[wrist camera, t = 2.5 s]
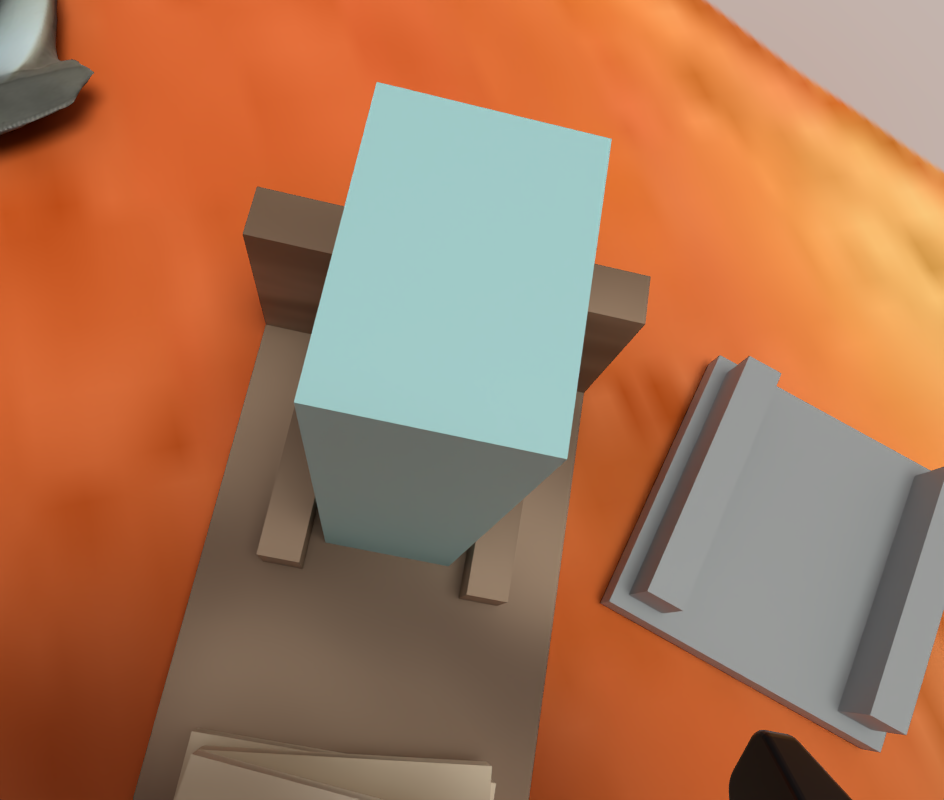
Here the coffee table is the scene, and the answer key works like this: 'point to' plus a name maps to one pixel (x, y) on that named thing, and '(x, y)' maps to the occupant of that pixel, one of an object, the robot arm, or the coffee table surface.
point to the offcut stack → (319, 773)
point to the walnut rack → (362, 571)
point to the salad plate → (33, 65)
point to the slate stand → (791, 555)
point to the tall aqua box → (449, 324)
